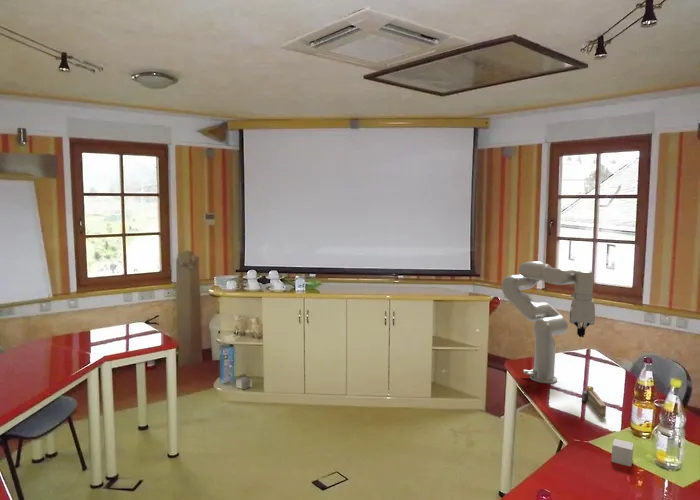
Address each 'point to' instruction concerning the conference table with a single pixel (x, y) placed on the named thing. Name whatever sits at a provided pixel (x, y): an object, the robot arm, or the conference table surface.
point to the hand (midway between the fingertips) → (580, 336)
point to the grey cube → (622, 452)
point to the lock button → (589, 388)
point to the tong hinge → (585, 396)
